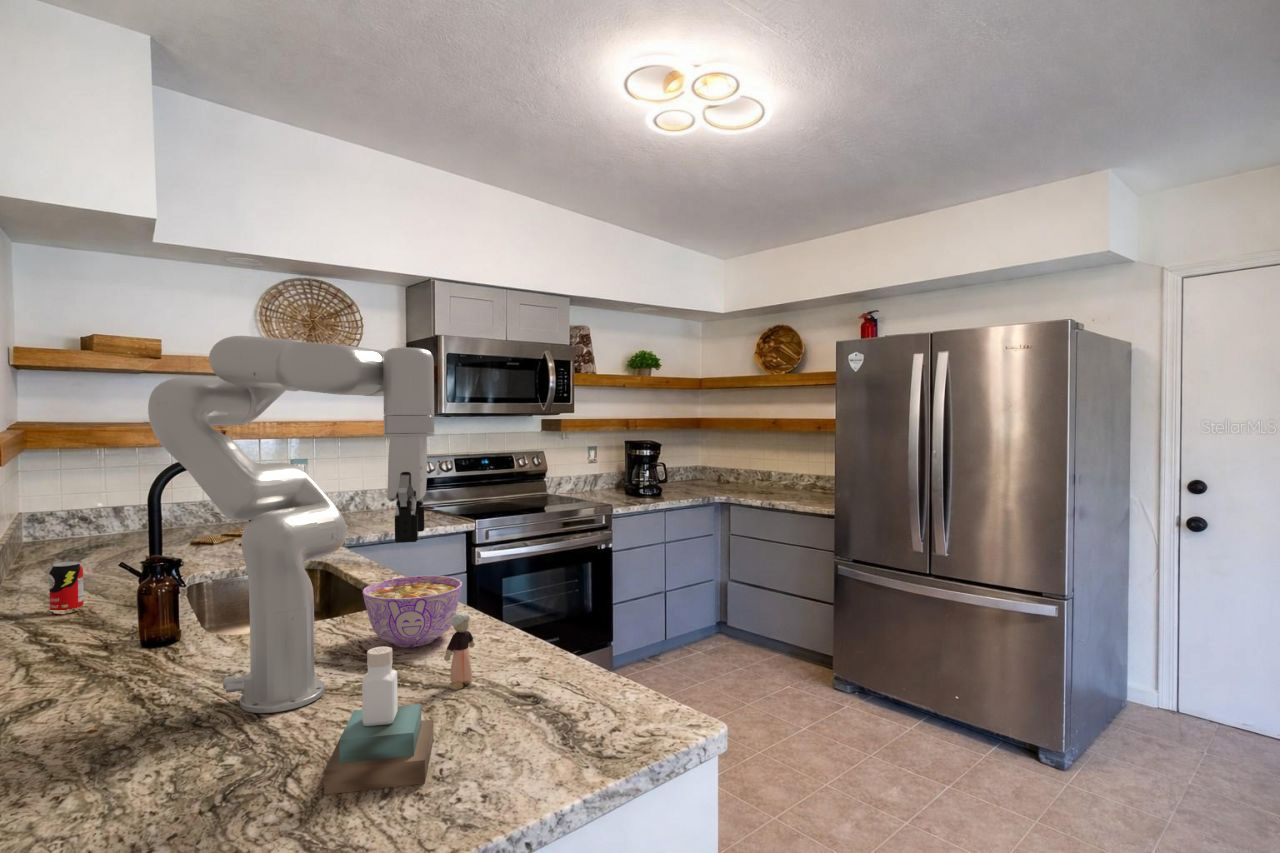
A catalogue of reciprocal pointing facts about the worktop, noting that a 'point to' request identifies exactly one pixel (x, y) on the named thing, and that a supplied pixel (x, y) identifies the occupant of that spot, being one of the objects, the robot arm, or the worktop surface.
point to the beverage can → (66, 585)
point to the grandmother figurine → (460, 651)
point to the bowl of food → (412, 608)
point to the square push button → (381, 753)
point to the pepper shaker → (379, 688)
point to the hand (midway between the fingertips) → (410, 536)
